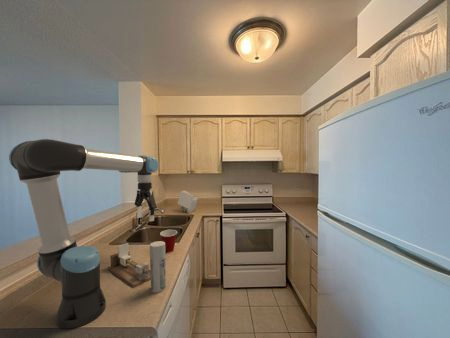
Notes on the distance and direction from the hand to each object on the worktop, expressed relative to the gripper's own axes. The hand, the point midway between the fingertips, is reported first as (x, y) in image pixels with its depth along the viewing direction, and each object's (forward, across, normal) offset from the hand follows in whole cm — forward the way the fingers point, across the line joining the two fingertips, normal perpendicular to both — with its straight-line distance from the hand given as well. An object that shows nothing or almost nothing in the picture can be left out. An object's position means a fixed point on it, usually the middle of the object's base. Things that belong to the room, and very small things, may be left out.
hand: (145, 219), depth 120 cm
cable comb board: (+24, -7, +12) cm, 28 cm away
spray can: (+24, -30, +11) cm, 40 cm away
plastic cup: (+24, +2, -17) cm, 29 cm away
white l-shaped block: (+21, -1, +12) cm, 24 cm away
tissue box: (+23, +80, -98) cm, 129 cm away
